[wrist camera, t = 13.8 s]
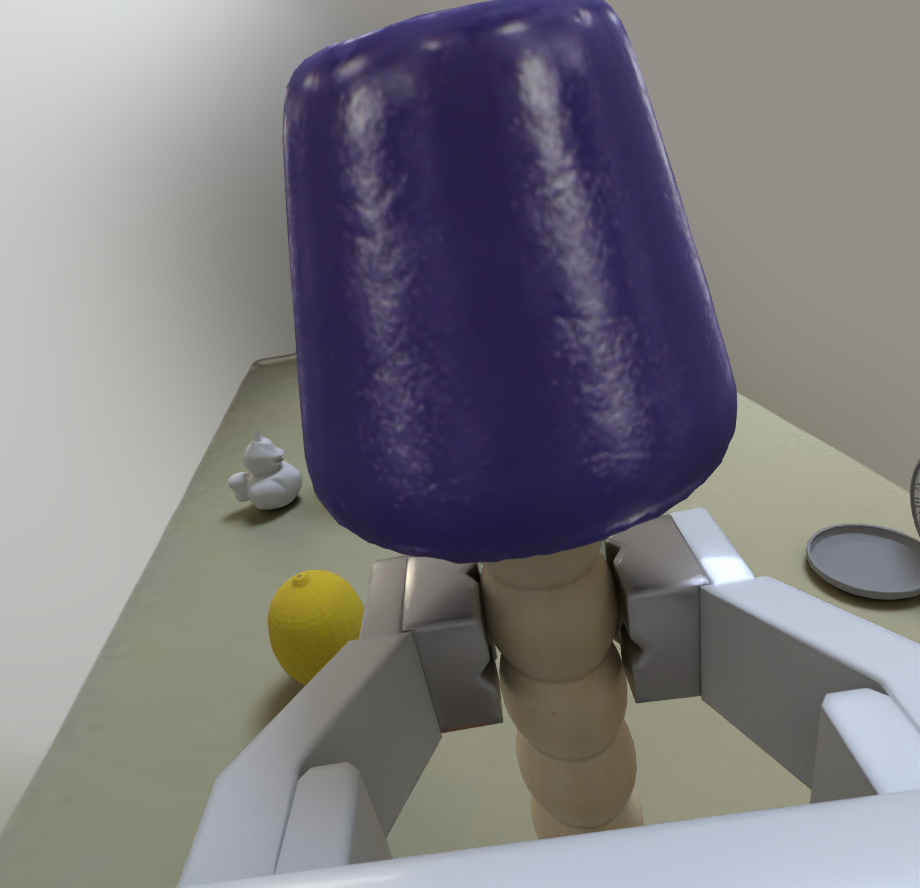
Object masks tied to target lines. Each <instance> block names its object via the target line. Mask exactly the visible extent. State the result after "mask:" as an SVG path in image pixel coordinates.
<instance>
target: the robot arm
mask: <svg viewBox="0 0 920 888" xmlns="http://www.w3.org/2000/svg"><path fill="white" fill-rule="evenodd" d="M599 551H600V553H601V554H602V555H603V557H604V558H605V560H606V562H607V564H608V566H609V568H610V570H611V572H612V576H613V579H614V583H615V589H616V594H617V600H618V621H617V626H616V630H615V634H614V640H615V641H617V642H618V643H619V644H620V646H621V656H622V665H623V668H624V670H625V673H626V676H627V679H628V682H629V685H630V688H631V691H632V693H633V696H634V699H635V702H636V703H643V702H651V701H660V700H669V699H677V698H686V697H694V696H701V699H702V700H703V701H705V702H706V703H707V704H708V705H709V706H711V707H712V708H713V709H714V710H716V711H717V712H718V713H719V714H720V715H722V716H723V717H724V718H725V719H726V720H728V721H729V722H730V723H731V724H732V725H734V726H735V727H736V728H737V729H738V730H740V731H741V732H742V733H743V734H745V735H746V736H747V737H748V738H749V739H751V740H752V741H753V742H754V743H755V744H757V745H758V746H759V747H760V748H761V749H763V750H764V751H765V752H766V753H768V754H769V755H770V756H771V757H772V758H774V759H775V760H776V761H777V762H778V763H780V764H781V765H782V766H783V767H784V768H786V769H787V770H788V771H789V772H790V773H792V774H793V775H794V776H795V777H797V778H798V779H799V780H800V781H801V782H803V783H804V784H805V785H806V786H807V787H809V788H810V789H811V790H812V791H811V800H810V804H804V805H797V806H789V807H782V808H774V809H767V810H759V811H751V812H744V813H736V814H729V815H721V816H714V817H706V818H699V819H691V820H684V821H676V822H668V823H661V824H653V825H646V826H638V827H631V828H623V829H616V830H608V831H601V832H593V833H585V834H578V835H570V836H563V837H555V838H548V839H540V840H533V841H525V842H518V843H510V844H503V845H495V846H487V847H480V848H472V849H465V850H457V851H449V852H442V853H434V854H427V855H419V856H411V857H404V858H396V859H393V857H392V855H391V852H390V849H389V847H388V844H387V842H386V837H387V835H388V833H389V832H390V830H391V828H392V826H393V824H394V823H395V821H396V819H397V817H398V815H399V814H400V812H401V810H402V808H403V806H404V805H405V803H406V801H407V799H408V797H409V796H410V794H411V792H412V790H413V788H414V787H415V785H416V783H417V781H418V779H419V778H420V776H421V774H422V772H423V770H424V769H425V767H426V765H427V763H428V761H429V759H430V758H431V756H432V754H433V752H434V750H435V749H436V747H437V745H438V743H439V741H440V740H441V738H442V735H441V733H445V732H451V731H457V730H463V729H468V728H474V727H480V726H486V725H491V724H497V723H503V716H502V705H501V694H500V683H499V678H498V673H497V668H496V663H495V660H496V658H497V653H496V645H495V644H494V642H493V641H492V639H491V636H490V634H489V632H488V630H487V623H486V619H485V614H484V609H483V603H482V598H481V594H480V589H479V583H480V575H481V572H482V567H481V562H479V563H464V564H455V563H452V562H449V561H446V560H441V559H434V558H429V557H413V556H401V557H394V558H388V559H382V560H376V562H375V563H374V564H373V566H372V569H371V574H370V580H369V586H368V591H367V597H366V603H365V608H364V614H363V619H362V625H361V631H360V636H359V639H358V640H352V641H348V642H347V643H346V644H345V645H344V646H343V647H342V648H341V650H340V651H339V652H338V653H337V654H336V655H335V656H334V657H333V658H332V659H331V660H330V661H329V662H328V663H327V664H326V665H325V666H324V667H323V668H322V669H321V670H320V671H319V672H318V673H317V674H316V675H315V676H314V677H313V678H312V679H311V680H310V682H309V683H308V684H307V685H306V686H305V687H304V688H303V689H302V690H301V691H300V692H299V693H298V694H297V695H296V696H295V697H294V698H293V699H292V700H291V701H290V702H289V703H288V704H287V705H286V706H285V707H284V708H283V709H282V710H281V711H280V713H279V714H278V715H277V716H276V717H275V718H274V719H273V720H272V721H271V722H270V723H269V724H268V725H267V726H266V727H265V728H264V729H263V730H262V731H261V732H260V733H259V734H258V735H257V736H256V737H255V738H254V739H253V740H252V741H251V742H250V743H249V745H248V746H247V747H246V748H245V749H244V750H243V751H242V752H241V753H240V754H239V755H238V756H237V757H236V758H235V759H234V760H233V761H232V762H231V763H230V764H229V765H228V766H227V767H226V768H225V769H224V770H223V771H222V772H221V773H220V774H219V775H218V777H217V778H216V781H215V784H214V787H213V789H212V792H211V795H210V798H209V800H208V803H207V806H206V809H205V811H204V814H203V817H202V820H201V822H200V825H199V828H198V831H197V833H196V836H195V839H194V842H193V844H192V847H191V850H190V853H189V855H188V858H187V861H186V863H185V866H184V869H183V872H182V874H181V877H180V880H179V883H178V885H177V888H920V644H918V643H916V642H913V641H911V640H909V639H907V638H904V637H902V636H900V635H898V634H896V633H893V632H891V631H889V630H887V629H884V628H882V627H880V626H878V625H876V624H873V623H871V622H869V621H867V620H864V619H862V618H860V617H858V616H855V615H853V614H851V613H849V612H847V611H844V610H842V609H840V608H838V607H835V606H833V605H831V604H829V603H827V602H824V601H822V600H820V599H818V598H815V597H813V596H811V595H809V594H806V593H804V592H802V591H800V590H798V589H795V588H793V587H791V586H789V585H786V584H784V583H782V582H780V581H778V580H775V579H773V578H771V577H769V576H764V577H757V578H756V577H755V575H754V574H753V572H752V571H751V570H750V568H749V567H748V566H747V564H746V563H745V561H744V560H743V559H742V557H741V556H740V555H739V553H738V552H737V550H736V549H735V548H734V546H733V545H732V543H731V542H730V541H729V539H728V538H727V537H726V535H725V534H724V532H723V531H722V530H721V528H720V527H719V525H718V524H717V523H716V521H715V520H714V519H713V517H712V516H711V514H710V513H709V512H708V510H707V509H704V508H702V507H698V508H693V509H688V510H683V511H678V512H673V513H668V514H666V515H662V516H660V517H658V518H655V519H652V520H649V521H647V522H644V523H641V524H638V525H636V526H633V527H631V528H629V529H627V530H626V531H623V532H621V533H618V534H615V535H612V536H610V537H609V538H607V539H606V540H604V541H603V542H602V545H601V548H600V550H599Z"/></svg>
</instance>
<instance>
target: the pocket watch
mask: <svg viewBox="0 0 920 888" xmlns="http://www.w3.org/2000/svg"><path fill="white" fill-rule="evenodd" d="M910 488H911V489H910V501H911V509H912V515H913V519H914V523H915V526H916V529H917V532H918V534H919V536H920V459H919V460H918V462H917V464H916V466H915V468H914V471H913V475H912V480H911V487H910ZM806 553H807V559H808V562H809V564H810V566H811V567H812V569H813V570H814V571H815V572H816V573H817V574H818V575H819V576H820V577H821V578H822V579H823V580H825V581H826V582H828V583H830V584H832V585H833V586H835V587H837V588H839V589H841V590H844V591H846V592H849V593H851V594H855V595H859V596H863V597H868V598H872V599H887V600H895V599H902V598H910V597H914V596H917V595H919V594H920V542H919V541H917V540H916V539H913V538H911V537H909V536H907V535H905V534H903V533H901V532H898V531H895V530H892V529H889V528H885V527H881V526H874V525H867V524H840V525H834V526H830V527H827V528H824V529H822V530H820V531H818V532H816V533H815V534H814V535H813V536H812V537H811V538H810V540H809V541H808V543H807V547H806Z"/></svg>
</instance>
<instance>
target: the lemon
mask: <svg viewBox="0 0 920 888" xmlns="http://www.w3.org/2000/svg"><path fill="white" fill-rule="evenodd" d="M363 614H364V606H363V604H362V602H361V600H360V599H359V597H358V595H357V594H356V592H355V590H354V589H353V588H352V587H351V585H350V584H349V583H348V582H347V581H345V580H344V579H343V578H341V577H340V576H338V575H337V574H334V573H331V572H328V571H322V570H310V571H305V572H301V573H298V574H296V575H295V576H293V577H291V578H290V579H289V580H287V581H286V582H285V583H284V584H283V585H282V586H281V587H280V588H279V590H278V591H277V592H276V594H275V596H274V598H273V599H272V602H271V605H270V609H269V613H268V628H269V637H270V642H271V646H272V649H273V652H274V654H275V656H276V658H277V659H278V661H279V663H280V665H281V666H282V668H283V669H284V670H285V672H286V673H287V674H288V675H290V676H291V677H292V678H294V679H295V680H296V681H298V682H299V683H302V684H304V685H307V684H308V683H309V682H310V680H311V679H312V678H313V677H314V676H315V675H316V674H317V673H318V672H319V671H320V670H321V669H322V668H323V667H324V666H325V665H326V664H327V663H328V662H329V661H330V660H331V659H332V658H333V657H334V656H335V655H336V654H337V653H338V652H339V651H340V650H341V648H342V647H343V646H344V645H345V644H346V643H347V642H348V641H352V640H358V639H359V636H360V631H361V625H362V619H363Z"/></svg>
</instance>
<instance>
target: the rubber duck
mask: <svg viewBox="0 0 920 888" xmlns="http://www.w3.org/2000/svg"><path fill="white" fill-rule="evenodd" d="M283 455H284V451H283V450H282V449H280V448H278V447H276V446H275V445H274V444H273V443H272V442H271V441H270V440H269V439H268V438H265V437H262V436H260V435H259V432H258V430H257V428H256V431H255V436H254V439H253V440H252V442H251V443H250V445H249V446H248V447H247V448H246V451H245V454H244V458H243V459H244V465H245V467H246V468H247V469H248V470H249V471H250V473H236V474H234V475H232V476H231V477H230V478H229V479H228V485H229V486H230V488H232V489H233V490H234V491H235V495H236V499H237V500H238V501H241V502H244V501H248V500H250V501H251V502H252V503H253V504H254V505H255V506H256V507H257V508H258V509H267V510H270V509H275V508H280V507H283V506H286V505H287V504H289V503H290V502H292V501H293V500H294V499H295V497H296V496H297V494H298V493H299V491H300V489H301V485H302V476H301V473H300V472H299V470H298V469H296V468H295V467H293V466H292V465H290V464H289V463H287V462H285V461H283Z"/></svg>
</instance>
